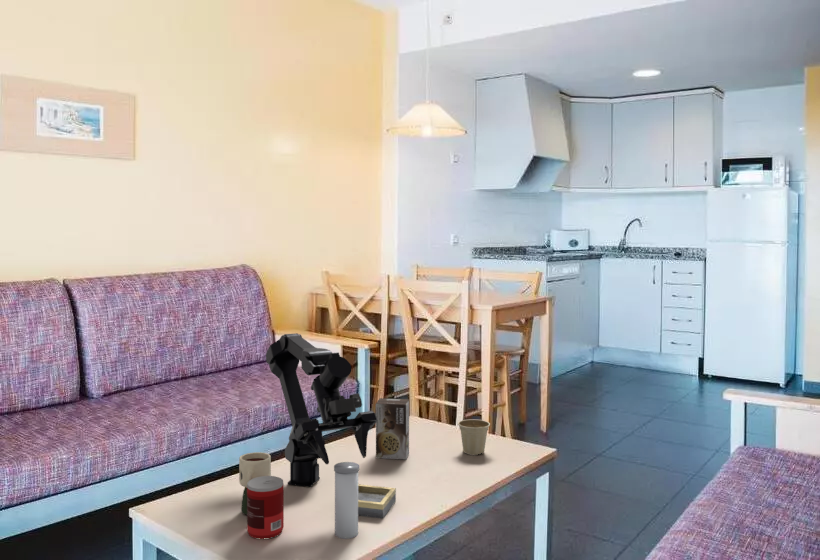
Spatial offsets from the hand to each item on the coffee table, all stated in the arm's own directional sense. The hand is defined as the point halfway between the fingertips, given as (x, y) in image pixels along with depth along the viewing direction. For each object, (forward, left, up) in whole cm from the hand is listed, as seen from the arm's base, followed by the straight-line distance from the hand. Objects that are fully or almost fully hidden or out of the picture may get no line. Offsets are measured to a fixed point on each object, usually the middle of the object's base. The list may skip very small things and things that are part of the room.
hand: (346, 460), depth 159 cm
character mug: (-21, -3, -13) cm, 25 cm away
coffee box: (-2, +45, -13) cm, 47 cm away
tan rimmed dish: (+3, +7, -13) cm, 15 cm away
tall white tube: (+3, -8, -13) cm, 16 cm away
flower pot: (+20, +55, -13) cm, 60 cm away
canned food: (-14, -12, -13) cm, 23 cm away
